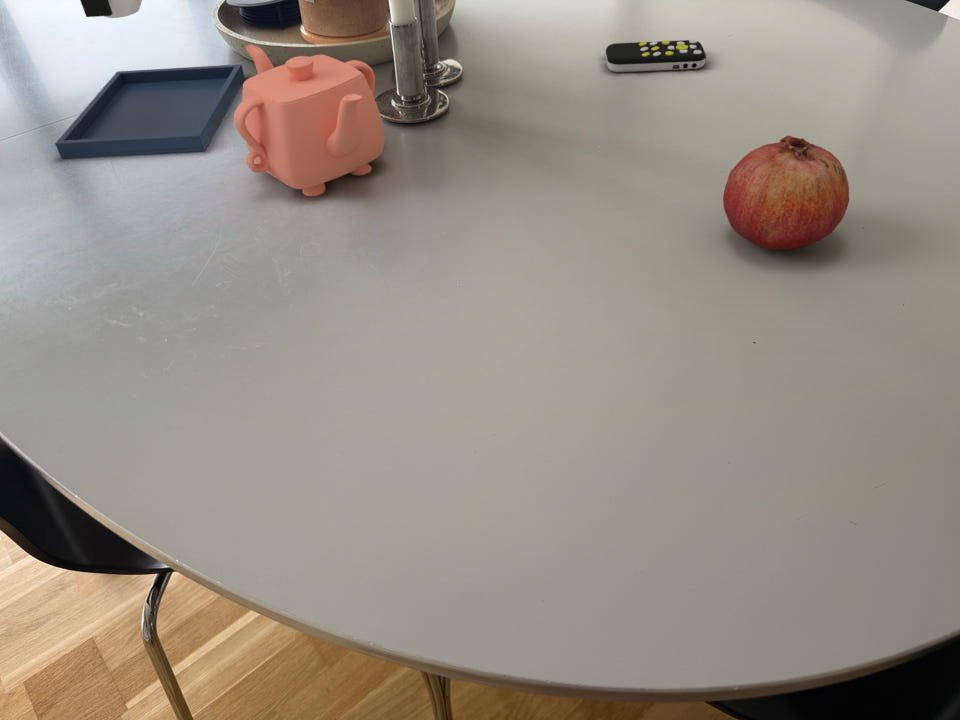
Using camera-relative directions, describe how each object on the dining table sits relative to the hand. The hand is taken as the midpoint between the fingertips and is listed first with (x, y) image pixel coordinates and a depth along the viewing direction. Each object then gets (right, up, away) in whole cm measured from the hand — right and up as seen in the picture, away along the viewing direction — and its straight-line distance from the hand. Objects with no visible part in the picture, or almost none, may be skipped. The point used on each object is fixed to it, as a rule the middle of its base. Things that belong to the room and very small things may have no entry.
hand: (114, 1), depth 94 cm
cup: (0, -1, +1) cm, 1 cm away
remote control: (+65, -2, +15) cm, 67 cm away
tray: (0, -10, +12) cm, 16 cm away
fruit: (+70, -30, -17) cm, 78 cm away
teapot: (+24, -20, -1) cm, 31 cm away
